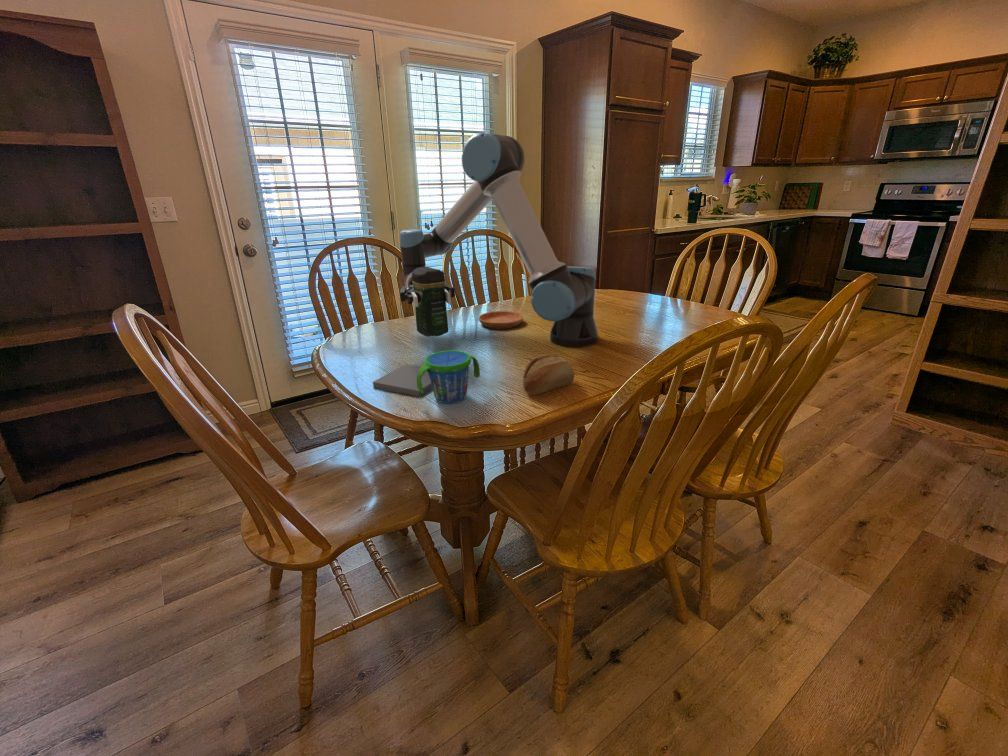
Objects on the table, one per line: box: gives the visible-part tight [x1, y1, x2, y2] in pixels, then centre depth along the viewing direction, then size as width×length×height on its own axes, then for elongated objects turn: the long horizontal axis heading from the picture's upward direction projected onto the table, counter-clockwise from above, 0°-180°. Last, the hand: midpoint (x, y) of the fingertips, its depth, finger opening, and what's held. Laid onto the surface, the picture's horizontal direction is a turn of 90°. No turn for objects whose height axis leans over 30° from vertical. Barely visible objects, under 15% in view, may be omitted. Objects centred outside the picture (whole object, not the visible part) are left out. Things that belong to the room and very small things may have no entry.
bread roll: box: [522, 354, 575, 396], centre depth 114 cm, size 10×15×8 cm, turn 131°
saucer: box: [478, 310, 524, 330], centre depth 169 cm, size 16×16×3 cm
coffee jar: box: [412, 266, 449, 337], centre depth 131 cm, size 10×8×19 cm
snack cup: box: [417, 349, 481, 404], centre depth 109 cm, size 16×10×10 cm
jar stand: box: [372, 363, 433, 397], centre depth 120 cm, size 14×14×2 cm
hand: (433, 300), depth 127 cm, fingers closed on coffee jar, 8 cm apart
